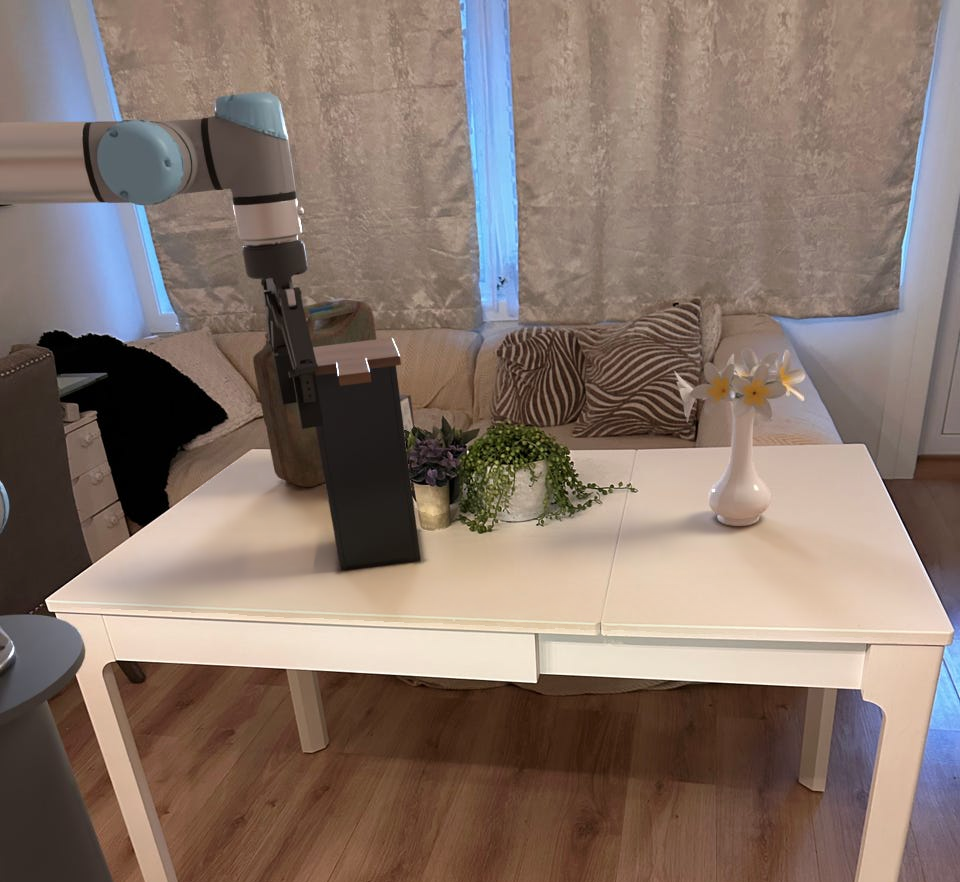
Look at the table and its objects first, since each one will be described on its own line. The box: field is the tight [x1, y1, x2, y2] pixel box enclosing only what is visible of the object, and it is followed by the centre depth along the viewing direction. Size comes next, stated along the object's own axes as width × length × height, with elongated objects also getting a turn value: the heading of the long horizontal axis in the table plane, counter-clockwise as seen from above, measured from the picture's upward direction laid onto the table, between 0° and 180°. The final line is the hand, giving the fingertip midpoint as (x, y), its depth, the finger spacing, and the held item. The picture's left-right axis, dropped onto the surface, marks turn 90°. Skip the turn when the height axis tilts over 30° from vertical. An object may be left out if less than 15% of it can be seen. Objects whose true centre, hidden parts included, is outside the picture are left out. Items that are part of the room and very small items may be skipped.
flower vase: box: [673, 347, 806, 527], centre depth 138 cm, size 13×18×25 cm
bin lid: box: [313, 337, 402, 386], centre depth 129 cm, size 20×13×2 cm, turn 9°
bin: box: [316, 365, 422, 572], centre depth 139 cm, size 12×12×29 cm
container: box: [252, 298, 378, 488], centre depth 175 cm, size 23×10×30 cm, turn 133°
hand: (302, 414), depth 124 cm, fingers open, 13 cm apart
